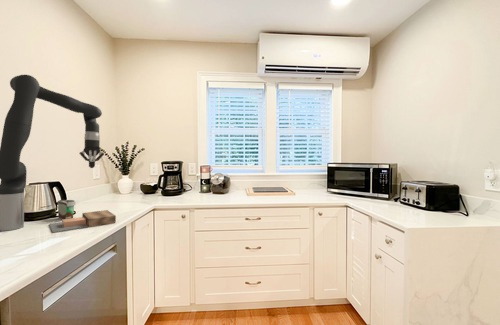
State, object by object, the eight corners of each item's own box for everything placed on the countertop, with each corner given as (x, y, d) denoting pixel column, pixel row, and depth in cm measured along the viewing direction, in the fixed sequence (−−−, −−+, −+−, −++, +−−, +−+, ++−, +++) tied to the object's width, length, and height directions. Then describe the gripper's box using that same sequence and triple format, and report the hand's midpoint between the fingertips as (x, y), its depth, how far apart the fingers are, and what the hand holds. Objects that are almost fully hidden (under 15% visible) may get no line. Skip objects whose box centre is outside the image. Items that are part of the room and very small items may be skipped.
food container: (79, 218, 131) (79, 201, 131) (66, 221, 126) (67, 202, 126) (69, 215, 137) (70, 199, 137) (57, 217, 132) (57, 200, 132)
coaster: (64, 227, 113) (64, 222, 113) (62, 224, 118) (62, 219, 117) (86, 224, 119) (86, 219, 119) (83, 221, 124) (83, 216, 124)
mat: (52, 233, 106) (52, 232, 106) (49, 224, 118) (49, 223, 118) (87, 227, 115) (87, 226, 115) (81, 220, 128) (81, 219, 128)
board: (89, 227, 116) (89, 219, 115) (82, 220, 128) (82, 213, 128) (115, 222, 124) (115, 215, 124) (106, 216, 137) (106, 210, 137)
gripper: (79, 138, 132) (79, 168, 132) (106, 140, 141) (105, 168, 141) (77, 139, 137) (77, 167, 137) (103, 140, 146) (102, 167, 146)
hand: (91, 167), depth 139 cm, fingers closed
